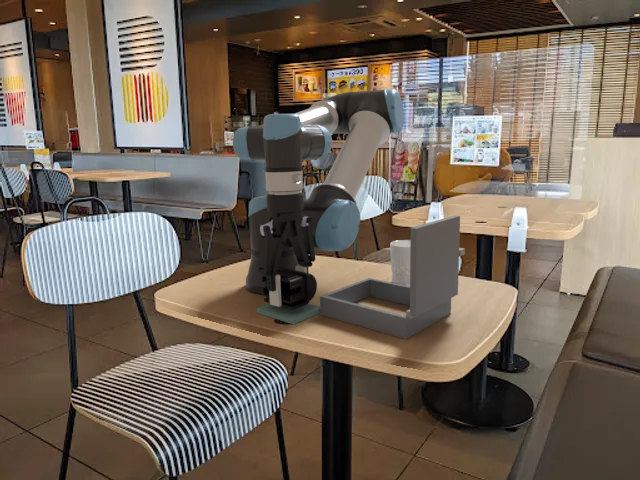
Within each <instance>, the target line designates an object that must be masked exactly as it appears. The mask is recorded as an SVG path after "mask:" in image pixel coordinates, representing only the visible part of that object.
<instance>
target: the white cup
mask: <svg viewBox="0 0 640 480" xmlns="http://www.w3.org/2000/svg"><path fill="white" fill-rule="evenodd" d="M389 246H390V250H389V251H390V264H391V268H390V269H391V277H392V281H391V283H396V284H401V285H407V284H410V239H404V240H403V239H402V240H401V239H400V240H393V241H391V242H390V245H389Z"/></svg>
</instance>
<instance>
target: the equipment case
mask: <svg viewBox="0 0 640 480" xmlns="http://www.w3.org/2000/svg"><path fill="white" fill-rule="evenodd" d="M460 228H461V216H460V215H451V216H449V217H448V216H447V217H443V218H441V219H437V220H434V221H430V222H427V223H423V224H420V225H417V226H413V227H410V236H409V237H410V239H409V240H410V284H407V285H401V284H396V283H393V282H392V281H386V280H381V279H376V278H370V277H368V278H365V279H362V280H359V281H357V282H354V283H352V284H348V285H346V286H343V287H341V288H338V289H336V290H332V291H330V292H328V293H325V294H322V295H320V296H319V307H320V314H319V315H321V316H325V317H328V318H331V319H334V320H337V321H341V322H345V323H348V324H352V325H355V326H359V327H362V328H365V329H369V330H373V331H376V332H380V333H383V334H387V335H391V336H393V337H397V338H401V339H404V340H407V339H409V338H411V337H412V336H414V335H415V334H417V333H419V332H422V331H423V330H424V329H426V328H428V327H430V326H431V325H433V324H435V323H437V322H439V321H440V320H442V319H444V318H445V317H447V316H449V315H451V314H452V298H454V297H455V296H458V295H459V271H460V270H459V268H460V267H459V266H460V263H459V262H460V257H462V256H465V254H466V248H464V247H460V238H461V235H460V233H461V229H460ZM369 297H371V298H376V299H381V300H383V301H389V302H393V303H397V304H400V305H405V306H409V309H407V310H406V311H405V315H403V314H399V313H397V312H396V313H395V312H391V311H386V310H383V309H380V308H376V307H371V306H367V305H363V304H360V303H357V302H360V301H362V300H364V299H366V298H369Z"/></svg>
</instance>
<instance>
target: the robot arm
mask: <svg viewBox="0 0 640 480" xmlns="http://www.w3.org/2000/svg"><path fill="white" fill-rule="evenodd" d="M404 115H405V114H404V106H403V101H402V98H401V95H400V92H399V91H398V90H396V89H392V88H391V89H390V88H389V89H386V88H383V89H376V90H375V89H374V90H373V89H372V90H360V91H359V90H358V91H346V92H345V91H344V92H342V93H338V94H335V95H332V96H330V97H326V98H323V99H321V100H319V101H316V102H314V103H313V104H311V106H310V107H309V108H306V109H304V110H301V111H298V112H295V113H274V114H273V113H272V114H267V115H265V116H264V118H263V124H260V125H256V126H250V125H247V126H244V127H240V128H239V127H238V128H237V130H236V131H235V132H234V134H233V137H232V146H233V151H234V154H235V155H236V156H237V158H239V159H240V160H244V161H245V160H247V161H252V162H254V161H264V162H265V163H264V164H265V168H264V169H265V170H264V171H265V173H264V174H265V175H264V176H265V191H266V192H268V193H267V194H266V195H261V196H255V197H253V198H251V199H250V201H249V202H248V215H247V216H248V221H249V222H248V223H249V239H250V253H251V256H250V257H251V258H250V262H249V267H248V270H247V275H246V277H245V288H246V290H247V291H248V292H251V293H253V294H258V295H263V294H262V288H263V287H266V286H267V289H268V290H269V295H270V303H269V304H271V305H274V306H278V307H280V306H282V305H281V282H280V275H277V271H278V267H282V268H287V269H291V270H296V271H300V272H305V273H309V268H311V267H312V266H313V263H314V262H316V251H315V250H318V251H319V250H320V251H323V252H340V251H341V252H342V251H344V250H347V249H348V248H350V247H351V246H352V245H353V243H354V242H355V240H356V239H357V236H358V233H359V230H360V227H359V226H360V224H361V214H360V213H361V212H360V209H359V207H358V204H357V201H356V197H357V195H358V193H359V191H360V189H361V187H362V184H363V182H364V180H365V178H366V175H367V173H368V171H369V169H370V166H371V165H372V162H373V160H374V157H375V156H376V154H377V151H378V149H379V146H381V145H383V144H386V142H387V141H388V140H389V138H390V136H391V134H397V133H401V132H402V130H403V128H404V127H403V126H404V121H405V119H404V118H405V117H404ZM333 134H334V135H335V134H336V135H337V134H341V135H345V134H346V135H347V136H346V138H345V140H344V142H343V145H342V146H341V148H340V150H339V152H338V154H337V156H336V158H335V160H334V162H333V164H332V165H331V167H330V170H329V172H328V173H327V176H326V178H325V180H324V181H323V183H321V184H318V185H317V186H315V187H314V188H313V189H312V191H311V193H310V194H309V196H308V198H304V194H303V192H301V191H303V189H304V179H303V177H304V176H303V175H304V174H303V161H313V160H314V161H317V160H319V159H323V158H325V157H326V156H327V155H328V154H329V152H331V149H332V146H333V138H332V135H333ZM262 274H265V275H266V277H267V281H266V282H262V278H261V276H262ZM309 274H310V273H309Z"/></svg>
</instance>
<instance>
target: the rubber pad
mask: <svg viewBox="0 0 640 480" xmlns="http://www.w3.org/2000/svg"><path fill="white" fill-rule="evenodd" d="M256 313H257V314H260V315H263V316H266V317H270V318H273V319H275V320H278V321H281V322H284V323H287V324H288V323H289V324H291V325H295V324H298V323H300V322H302V321H304V320H307V319H309V318H313V317H314V316H317V315H320V305H315V304H311V303H308V304H307V305H305V306H302V307H300V308H297V309H294V310H290V309H287V308H284V307H278V306H274V305H271V304H270V303H268V304H266V305H262V306H259V307H256Z"/></svg>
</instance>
